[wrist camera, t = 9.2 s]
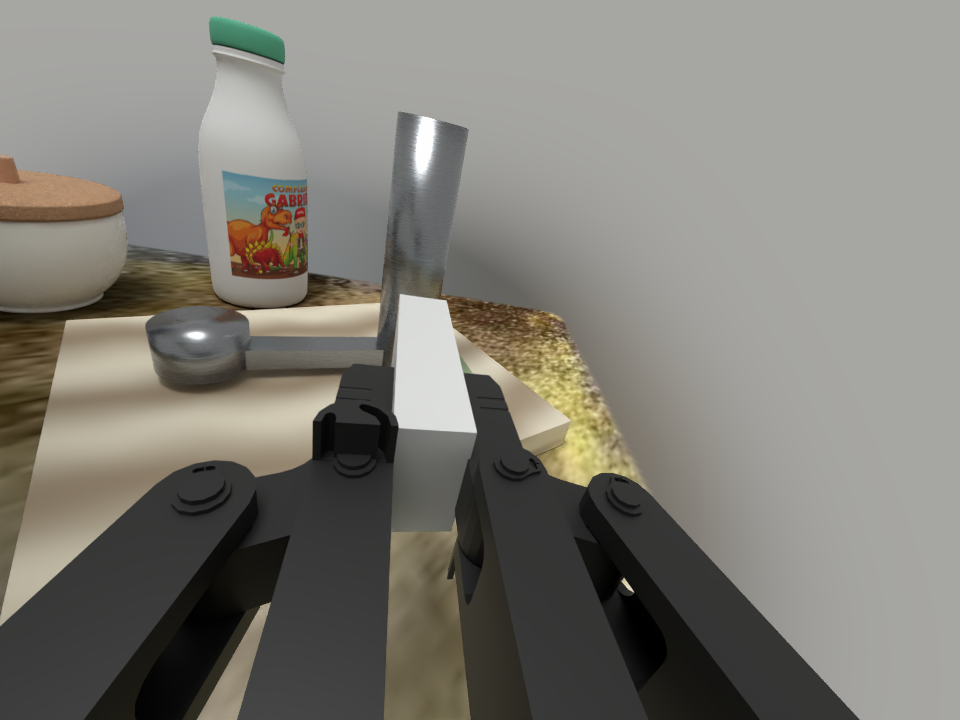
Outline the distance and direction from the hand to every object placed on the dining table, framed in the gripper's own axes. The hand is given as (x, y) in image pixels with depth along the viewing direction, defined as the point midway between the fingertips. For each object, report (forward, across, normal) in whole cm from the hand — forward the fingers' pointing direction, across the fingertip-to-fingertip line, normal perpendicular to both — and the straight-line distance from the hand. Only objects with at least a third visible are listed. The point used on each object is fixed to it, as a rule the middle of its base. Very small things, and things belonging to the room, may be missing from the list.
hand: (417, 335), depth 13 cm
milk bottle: (+26, -13, -10) cm, 30 cm away
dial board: (+10, -4, -10) cm, 15 cm away
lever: (+10, -5, -7) cm, 13 cm away
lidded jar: (+20, -26, -10) cm, 34 cm away
